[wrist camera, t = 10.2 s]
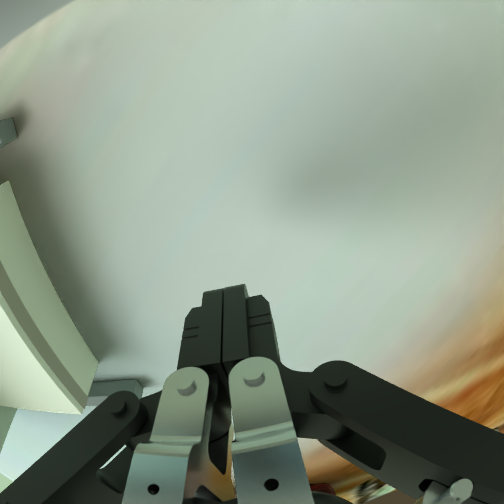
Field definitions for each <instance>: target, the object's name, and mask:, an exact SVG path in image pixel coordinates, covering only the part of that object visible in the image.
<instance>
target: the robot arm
mask: <svg viewBox="0 0 504 504" xmlns="http://www.w3.org/2000/svg"><path fill="white" fill-rule="evenodd" d="M231 408H232V416H233V423H232V421H231ZM233 425H234V426H233ZM234 433H235V440H234V441H233V434H234ZM297 437H299V438H311V439H317V440H318V441H319V442H320V443H322V444H323V445H324V446H326V447H328V448H329V449H331V450H332V451H334V452H335V453H337V454H338V455H340V456H341V457H343V458H345V459H346V460H348V461H349V462H351V463H353V464H354V465H356V466H357V467H359V468H361V469H362V470H364V471H366V472H367V473H369V474H371V475H373V476H374V477H376V478H378V479H379V480H381V481H383V482H385V483H386V484H388V485H390V486H392V487H394V488H396V489H397V490H399V491H401V492H403V493H405V494H407V495H409V496H411V497H413V498H414V499H416V500H417V501H416V502H415V504H504V434H503V433H500V432H498V431H495V430H493V429H490V428H488V427H486V426H483V425H481V424H479V423H476V422H474V421H472V420H469V419H467V418H465V417H462V416H460V415H458V414H456V413H453V412H451V411H449V410H447V409H444V408H442V407H440V406H438V405H436V404H433V403H431V402H429V401H427V400H425V399H423V398H421V397H418V396H416V395H414V394H412V393H410V392H408V391H406V390H404V389H402V388H400V387H397V386H395V385H393V384H391V383H389V382H387V381H385V380H383V379H381V378H379V377H377V376H375V375H373V374H371V373H369V372H367V371H365V370H363V369H361V368H359V367H357V366H355V365H353V364H351V363H349V362H346V361H330V362H326V363H324V364H322V365H320V366H318V367H317V368H316V369H315V370H314V371H313V372H299V371H294V370H291V369H288V368H287V367H285V366H284V365H283V364H282V363H281V361H280V355H279V349H278V343H277V337H276V332H275V327H274V323H273V319H272V314H271V310H270V305H269V302H268V301H267V300H266V299H265V298H264V297H263V296H262V295H258V296H253V297H249V296H248V293H247V289H246V286H245V284H241V285H236V286H231V287H226V288H222V289H217V290H211V291H206V292H204V293H203V298H202V306H201V307H196V308H192V309H191V311H190V312H189V314H188V315H187V317H186V318H185V323H184V331H183V335H182V341H181V347H180V353H179V360H178V366H177V371H175V372H174V373H172V374H171V375H170V376H169V377H168V378H167V379H166V381H165V383H164V386H163V390H161V391H159V392H157V393H155V394H152V395H149V396H146V397H143V398H141V399H139V398H138V397H137V396H136V395H135V394H134V393H133V392H130V391H118V392H115V393H113V394H111V395H110V396H108V397H107V398H106V399H105V400H104V401H103V402H102V403H101V404H99V405H98V406H97V407H96V408H95V409H94V410H93V411H92V412H91V413H89V414H88V415H87V416H86V417H85V418H84V419H83V420H82V421H81V422H80V423H78V424H77V425H76V426H75V427H74V428H73V429H72V430H71V431H70V432H68V433H67V434H66V435H65V436H64V437H63V438H62V439H61V440H60V441H58V442H57V443H56V444H55V445H54V446H53V447H52V448H51V449H50V450H48V451H47V452H46V453H45V454H44V455H43V456H42V457H41V458H40V459H38V460H37V461H36V462H35V463H34V464H33V465H32V466H31V467H29V468H28V469H27V470H26V471H25V472H24V473H23V474H22V475H20V476H19V477H18V478H17V479H16V480H15V481H14V482H13V483H12V484H10V485H9V486H8V487H7V488H6V489H5V490H3V491H2V492H1V493H0V504H353V503H351V502H349V501H347V500H345V499H343V498H341V497H338V496H335V495H332V494H328V493H324V492H316V491H311V489H310V485H309V481H308V477H307V474H306V470H305V466H304V462H303V459H302V455H301V451H300V447H299V444H298V440H297ZM124 445H126V447H125V448H124V449H123V450H122V451H121V452H120V453H119V454H118V455H117V456H116V457H115V458H114V459H113V460H112V461H111V462H110V463H109V464H108V465H107V466H105V467H104V468H102V469H100V468H101V467H102V466H103V465H104V464H105V463H106V462H107V461H108V460H109V459H110V458H111V457H112V456H113V455H114V454H116V453H117V452H118V451H119V450H120V449H121V448H122V447H123V446H124ZM232 462H233V470H234V478H235V486H236V494H237V498H235V496H234V488H233V485H232V481H231V466H232Z"/></svg>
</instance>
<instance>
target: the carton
mask: <svg viewBox="0 0 504 504" xmlns="http://www.w3.org/2000/svg"><path fill="white" fill-rule="evenodd" d="M98 364H99V363H98V361H97V360H96V358H95V357H94V355H93V354H92V352H91V351H90V349H89V347H88V346H87V344H86V343H85V341H84V340H83V338H82V336H81V335H80V333H79V331H78V330H77V328H76V326H75V325H74V323H73V321H72V320H71V318H70V316H69V314H68V313H67V311H66V309H65V307H64V306H63V304H62V302H61V300H60V298H59V296H58V294H57V293H56V291H55V289H54V287H53V285H52V283H51V281H50V279H49V277H48V275H47V273H46V271H45V269H44V267H43V265H42V262H41V260H40V258H39V256H38V254H37V252H36V249H35V247H34V245H33V243H32V240H31V238H30V235H29V233H28V231H27V228H26V226H25V223H24V221H23V218H22V216H21V213H20V210H19V208H18V205H17V202H16V199H15V196H14V194H13V191H12V188H11V185H10V182H9V180H8V181H6V182H4V183H2V184H0V406H7V407H13V408H20V409H27V410H35V411H45V412H55V413H68V414H82V413H83V410H84V409H85V407H86V403H87V400H88V394H89V390H90V387H91V384H92V381H93V378H94V375H95V373H96V370H97V367H98Z"/></svg>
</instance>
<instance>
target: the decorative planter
mask: <svg viewBox="0 0 504 504" xmlns="http://www.w3.org/2000/svg"><path fill="white" fill-rule="evenodd" d="M310 489H311V491H316V492H324V493H328V494H332V495H335V496H336V494H335V491H334V489H333V488H332V487H331V486H330V485H328V484H317V485H312V486H310Z"/></svg>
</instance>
